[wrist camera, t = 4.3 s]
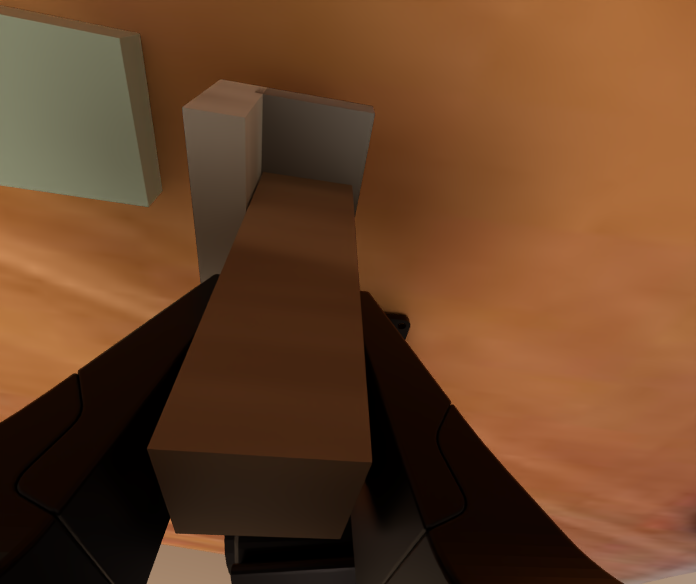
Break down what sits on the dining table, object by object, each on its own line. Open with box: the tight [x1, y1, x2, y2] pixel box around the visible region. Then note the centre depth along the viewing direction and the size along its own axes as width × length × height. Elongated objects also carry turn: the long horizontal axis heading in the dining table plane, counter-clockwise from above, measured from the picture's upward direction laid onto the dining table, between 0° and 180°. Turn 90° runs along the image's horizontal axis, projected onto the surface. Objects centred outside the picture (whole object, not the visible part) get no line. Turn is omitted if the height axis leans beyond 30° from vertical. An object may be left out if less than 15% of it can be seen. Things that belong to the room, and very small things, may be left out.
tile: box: [0, 5, 162, 207], centre depth 14 cm, size 6×6×2 cm
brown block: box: [147, 79, 375, 539], centre depth 8 cm, size 6×4×9 cm, turn 171°
